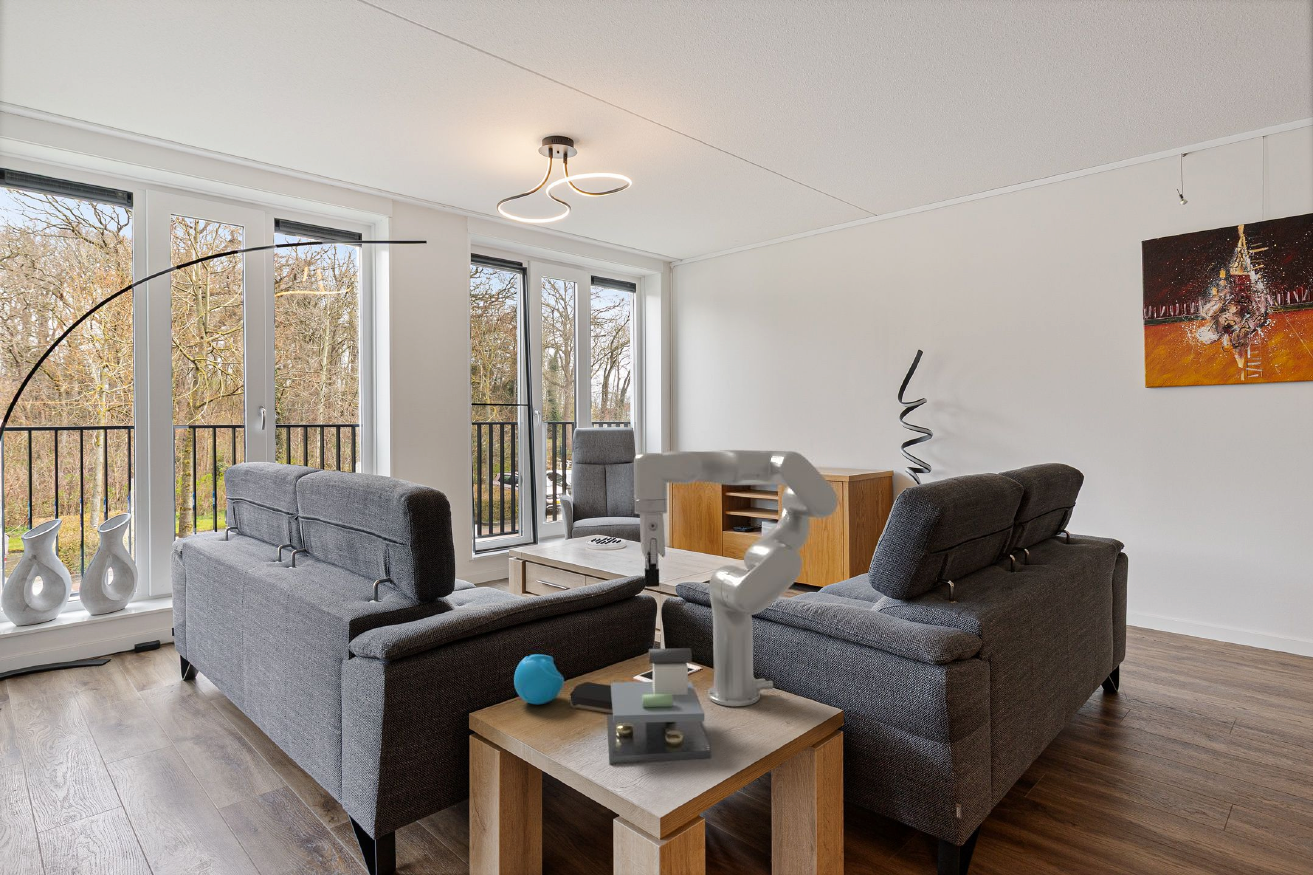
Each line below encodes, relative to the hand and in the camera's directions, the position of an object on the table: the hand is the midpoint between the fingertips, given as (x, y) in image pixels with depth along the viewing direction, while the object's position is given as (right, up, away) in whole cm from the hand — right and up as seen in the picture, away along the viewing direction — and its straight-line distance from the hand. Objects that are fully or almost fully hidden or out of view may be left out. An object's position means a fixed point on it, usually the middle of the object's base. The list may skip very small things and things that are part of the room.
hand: (652, 585), depth 157 cm
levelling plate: (+1, -23, -14) cm, 27 cm away
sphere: (-27, -30, +6) cm, 41 cm away
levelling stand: (+1, -29, -14) cm, 32 cm away
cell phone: (+4, -30, +25) cm, 39 cm away
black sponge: (-11, -30, +4) cm, 32 cm away
